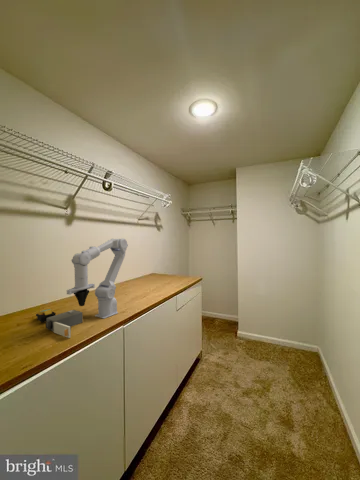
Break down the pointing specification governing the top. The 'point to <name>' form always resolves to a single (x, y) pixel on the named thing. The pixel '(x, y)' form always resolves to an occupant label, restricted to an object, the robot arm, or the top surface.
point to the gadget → (45, 315)
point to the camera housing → (65, 319)
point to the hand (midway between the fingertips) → (81, 305)
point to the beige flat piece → (62, 329)
